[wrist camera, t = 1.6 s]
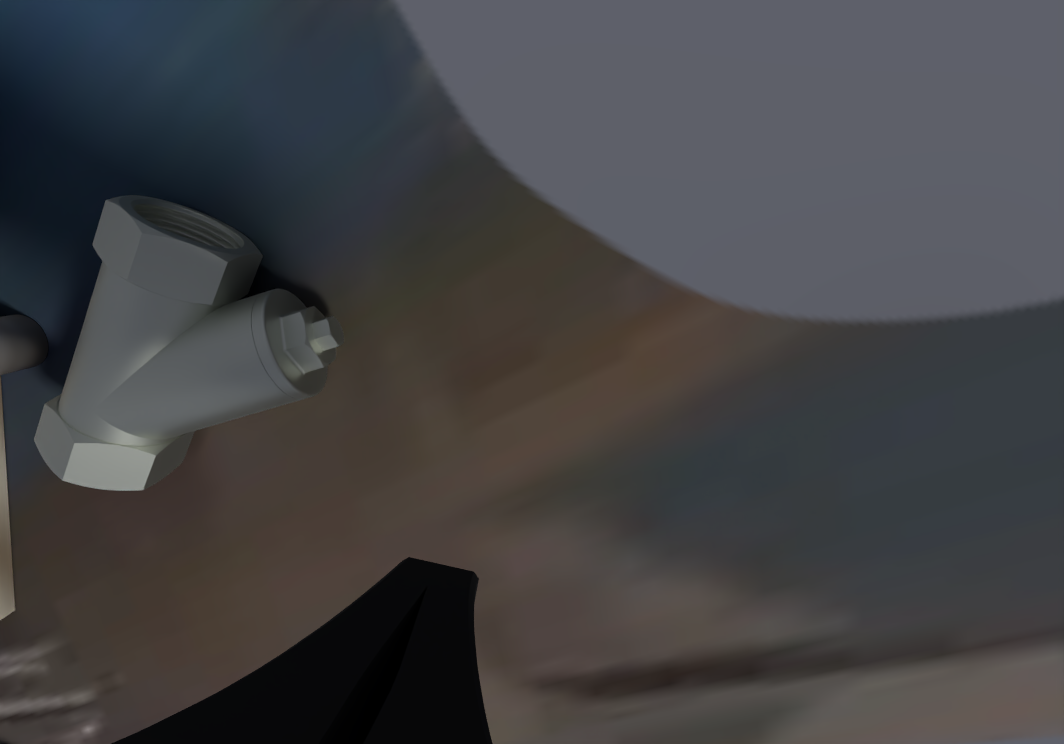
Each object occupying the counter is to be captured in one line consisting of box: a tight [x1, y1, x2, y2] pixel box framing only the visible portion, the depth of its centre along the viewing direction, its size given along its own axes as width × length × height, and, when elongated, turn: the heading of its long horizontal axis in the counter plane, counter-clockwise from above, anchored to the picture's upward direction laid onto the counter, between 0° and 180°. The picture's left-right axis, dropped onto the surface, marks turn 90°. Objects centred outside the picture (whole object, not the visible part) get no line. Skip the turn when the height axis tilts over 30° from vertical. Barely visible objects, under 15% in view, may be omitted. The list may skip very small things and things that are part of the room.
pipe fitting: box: [34, 195, 344, 491], centre depth 17 cm, size 8×4×7 cm
